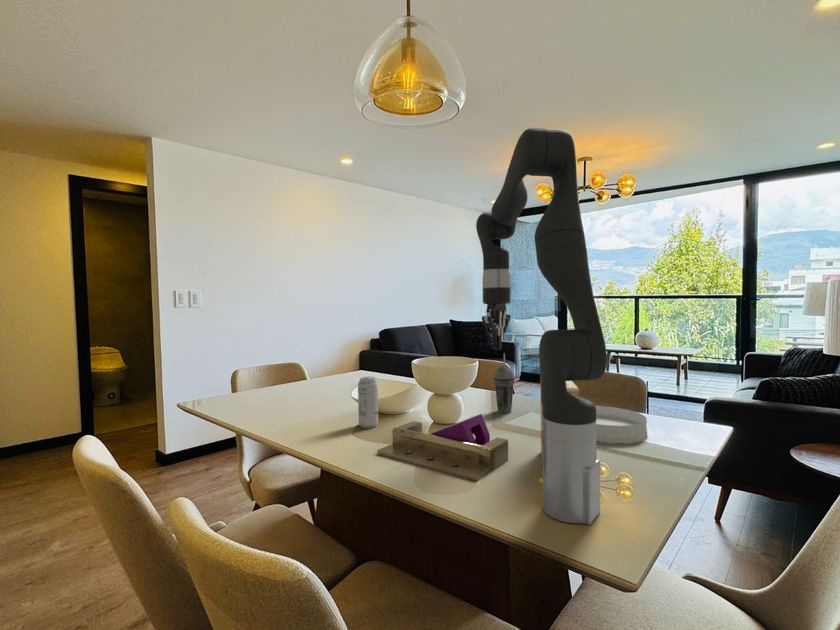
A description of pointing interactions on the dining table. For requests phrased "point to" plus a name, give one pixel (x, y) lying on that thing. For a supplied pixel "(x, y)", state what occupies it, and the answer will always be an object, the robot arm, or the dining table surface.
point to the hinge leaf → (445, 452)
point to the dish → (619, 425)
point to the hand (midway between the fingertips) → (497, 349)
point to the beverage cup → (504, 388)
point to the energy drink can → (368, 402)
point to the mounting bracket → (467, 431)
